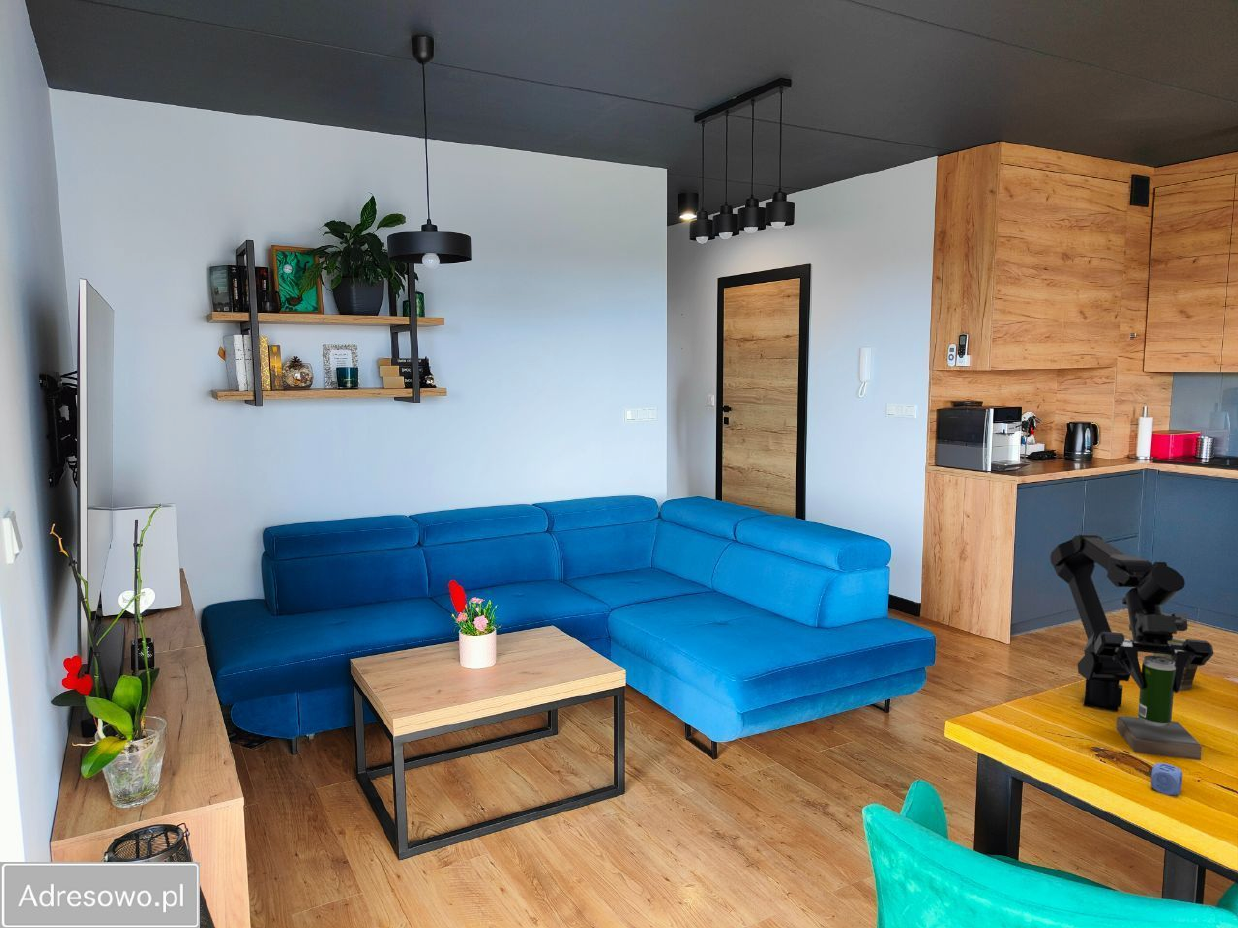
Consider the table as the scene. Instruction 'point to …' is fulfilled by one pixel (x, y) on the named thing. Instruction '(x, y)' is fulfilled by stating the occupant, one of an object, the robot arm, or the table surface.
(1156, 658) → the beer can
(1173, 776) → the decorative dice
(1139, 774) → the table surface
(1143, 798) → the table surface
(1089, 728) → the table surface
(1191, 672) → the ceramic cup
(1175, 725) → the gray plinth
